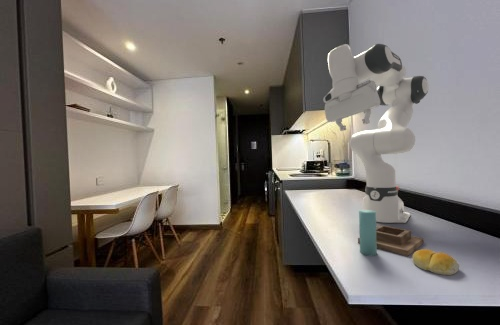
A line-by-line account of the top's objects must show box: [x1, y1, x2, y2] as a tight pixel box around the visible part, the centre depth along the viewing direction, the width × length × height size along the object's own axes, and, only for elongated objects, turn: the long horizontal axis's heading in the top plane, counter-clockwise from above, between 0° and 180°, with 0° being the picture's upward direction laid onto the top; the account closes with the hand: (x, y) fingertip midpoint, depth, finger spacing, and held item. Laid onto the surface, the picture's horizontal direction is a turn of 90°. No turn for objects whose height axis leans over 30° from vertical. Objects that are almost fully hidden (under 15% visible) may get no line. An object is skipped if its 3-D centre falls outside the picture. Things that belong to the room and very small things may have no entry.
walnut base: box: [357, 224, 425, 257], centre depth 75 cm, size 14×14×4 cm
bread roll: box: [412, 248, 460, 276], centre depth 59 cm, size 8×9×4 cm
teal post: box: [358, 209, 378, 257], centre depth 69 cm, size 4×4×12 cm
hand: (354, 127), depth 85 cm, fingers open, 8 cm apart
